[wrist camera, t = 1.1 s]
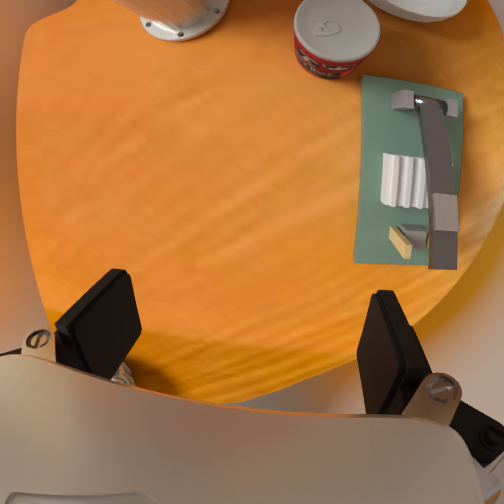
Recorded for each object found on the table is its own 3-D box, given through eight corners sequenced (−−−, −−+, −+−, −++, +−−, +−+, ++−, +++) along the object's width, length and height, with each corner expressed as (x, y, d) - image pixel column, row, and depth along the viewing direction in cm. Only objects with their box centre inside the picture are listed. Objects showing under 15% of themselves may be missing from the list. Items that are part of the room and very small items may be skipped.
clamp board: (360, 76, 30) (376, 63, 23) (457, 94, 28) (488, 90, 21) (353, 258, 39) (363, 287, 32) (441, 261, 37) (464, 287, 30)
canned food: (281, 51, 30) (275, 22, 20) (326, 15, 27) (335, -23, 17) (327, 93, 31) (339, 78, 21) (371, 56, 28) (397, 31, 18)
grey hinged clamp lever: (409, 98, 27) (414, 90, 25) (439, 104, 26) (445, 97, 24) (422, 268, 26) (430, 269, 24) (454, 269, 25) (463, 269, 24)
